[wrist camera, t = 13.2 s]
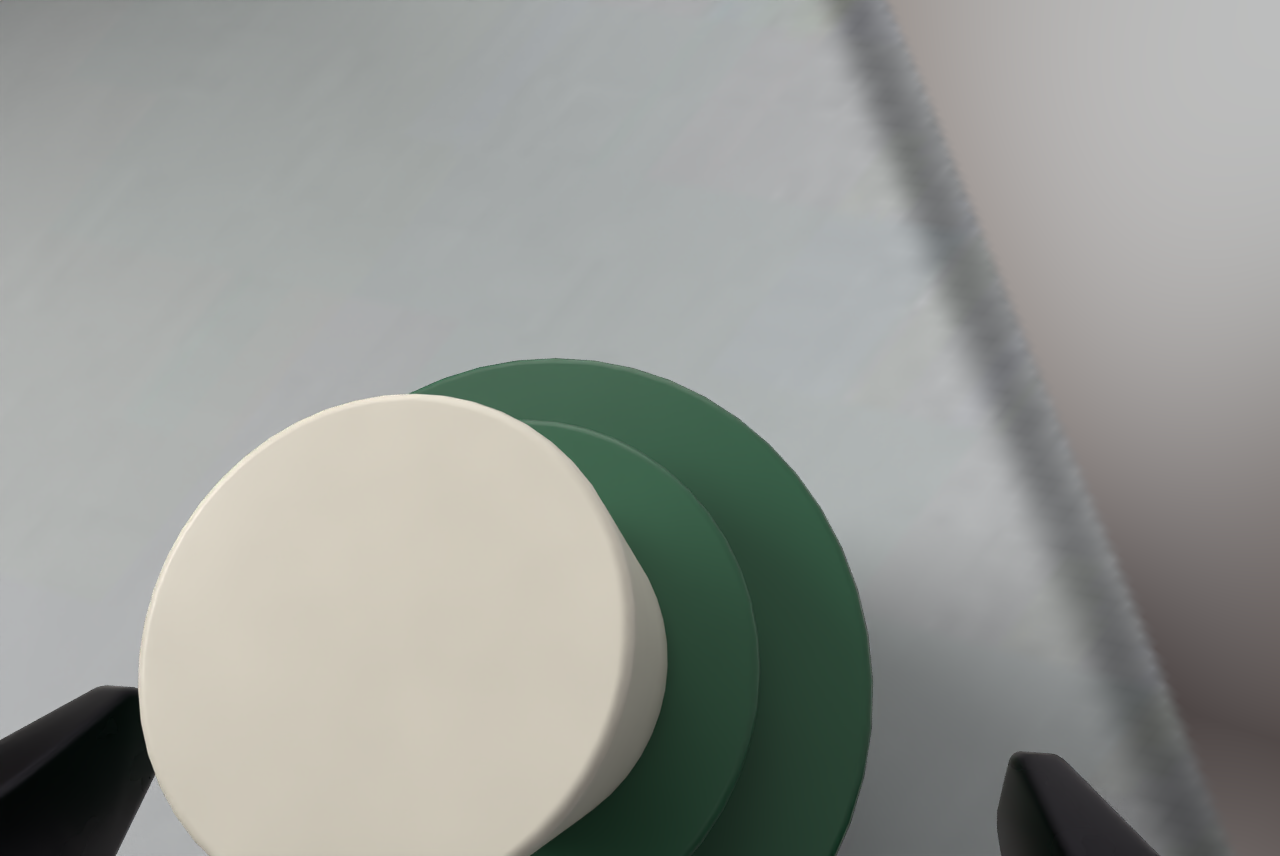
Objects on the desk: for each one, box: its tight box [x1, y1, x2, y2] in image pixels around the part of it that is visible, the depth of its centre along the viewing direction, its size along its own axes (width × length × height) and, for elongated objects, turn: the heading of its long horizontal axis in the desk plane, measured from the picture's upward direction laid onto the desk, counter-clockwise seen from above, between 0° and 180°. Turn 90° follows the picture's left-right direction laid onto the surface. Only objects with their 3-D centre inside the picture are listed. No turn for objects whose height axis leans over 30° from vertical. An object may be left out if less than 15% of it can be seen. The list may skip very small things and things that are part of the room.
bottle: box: [138, 358, 873, 856], centre depth 10 cm, size 6×6×11 cm
